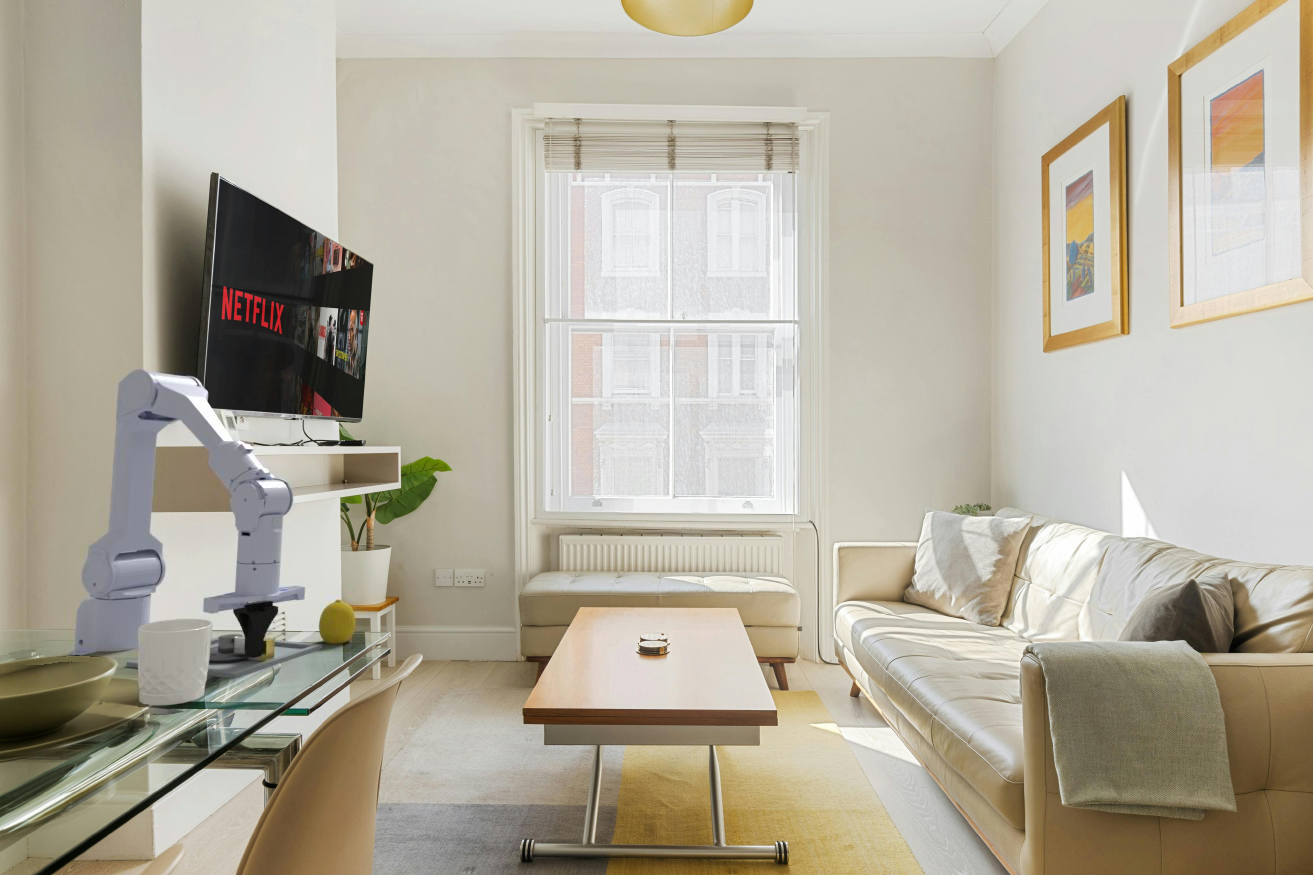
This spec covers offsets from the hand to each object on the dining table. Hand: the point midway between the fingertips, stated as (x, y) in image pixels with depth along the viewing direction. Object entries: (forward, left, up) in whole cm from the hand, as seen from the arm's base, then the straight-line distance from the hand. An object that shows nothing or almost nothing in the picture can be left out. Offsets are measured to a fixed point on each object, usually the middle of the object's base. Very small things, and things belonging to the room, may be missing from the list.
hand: (253, 655), depth 112 cm
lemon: (+2, +16, -2) cm, 16 cm away
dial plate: (-6, +2, -2) cm, 6 cm away
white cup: (+2, -16, -2) cm, 17 cm away
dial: (-4, +2, -1) cm, 4 cm away
